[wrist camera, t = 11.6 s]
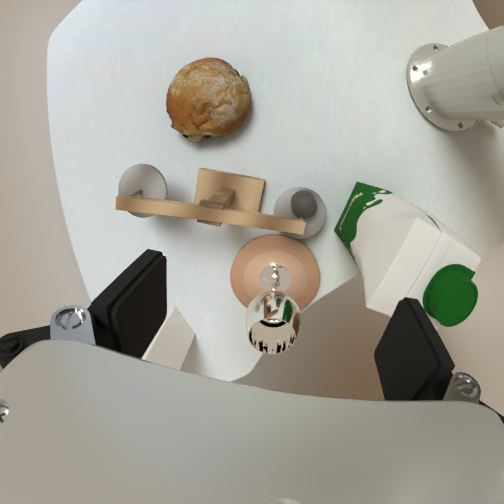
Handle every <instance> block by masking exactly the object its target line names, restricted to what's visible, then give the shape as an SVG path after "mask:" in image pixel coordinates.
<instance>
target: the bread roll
mask: <svg viewBox="0 0 504 504" xmlns="http://www.w3.org/2000/svg"><path fill="white" fill-rule="evenodd" d="M250 99H251V97H250V88H249V84H248V80H247V79H246V78H245V77H244V76H241V77H240V75H239V73H238V72H237V71H236V70H235V69H233V68H232V66H231V65H230V64H229V63H227V62H226V61H224V60H221V59H218V58H204V59H200V60H197V61H194V62H192V63H190V64H188V65H186V66H185V67H183V68H182V69H181V70H180V71H179V72H178V73H177V74H176V76H175V78H174V79H173V81H172V82H171V84H170V87H169V89H168V93H167V100H166V107H167V110H166V111H167V112H168V114H169V117H170V118H171V120H172V125H171V127H172V128H174V129H176V130H177V131H179V132H180V133H181V134H182V135H183V136H184V137H186V138H189V140H190V141H194V142H201V140H202V137H204V138H209V137H211V136H221V137H222V136H223V135H225V134H227V133H231V132H232V131H234V130H235V129H236V128H238V127H239V126H240V125H241V124H242V122H243V120H244V118H245V115H246V113H247V111H248V109H249V106H250Z"/></svg>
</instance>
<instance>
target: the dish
mask: <svg viewBox="0 0 504 504" xmlns="http://www.w3.org/2000/svg"><path fill="white" fill-rule="evenodd" d="M273 264H277V265H282V266H284V267H286V268H287V269H288V270H289V271H290V273H291V275H292V283H291V286H290V287H289V289H288V290H286V291H285V292H287V293H288V294H290V295H291V296H292V297H293V298H294V299H295V301H296V303H297V305H298V307H299V311H300V310H302V309H303V308H305V307H306V306H307V305H308V304H309V303H310V302H311V301H312V299H313V298H314V296H315V295H316V293H317V290H318V287H319V283H320V272H319V267H318V264H317V261H316V259H315V257H314V255H313V253H312V252H311V251H310V249H309V248H308V247H307V246H306V245H304V244H303V243H302V242H300V241H298V240H297V239H294V238H292V237H289V236H286V235H279V234H272V235H265V236H261V237H258V238H255V239H253V240H251V241H250V242H248V243H247V244H246V245H245V246H243V247H242V248H241V250H240V251H239V252H238V254H237V255H236V257H235V259H234V262H233V264H232V268H231V274H230V281H231V286H232V289H233V292H234V293H235V295H236V297H237V298H238V300H239V301H240V302H241V303H242V304H243V305H244V306H245V307H246V308H248V306H249V304H250V302H251V300H252V299H253V298H254V297H255V296H256V295H257V294H259V293H260V292H262V291H264V290H263V289H262V288H261V286H260V284H259V274H260V272H261V271H262V270H263V269H264V268H265V267H267V266H269V265H273Z"/></svg>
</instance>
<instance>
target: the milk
mask: <svg viewBox="0 0 504 504" xmlns="http://www.w3.org/2000/svg"><path fill="white" fill-rule="evenodd" d="M194 336H195V333H194V332H193V331H192V329H191V328H190V326H189V325H188V324H187V322H186V321H185V319H184V318H183V317H182V315H181V314H180V312H179V311H178V309H177V308H176V307H173V308H170V309H167V316H166V319H165V321H164V323H163V324H162V326H161V328H160V329H159V331H158V332H157V334H156V336H155V337H154V339H153V341H152V342H151V344H150V345H149V347H148V349H147V350H146V352H145V354H144V355H143V357H142V359H143V360H146V361H150V362H153V363H156V364H160V365H163V366H167V367H170V368H174V369H177V370H181V367H182V365H183V363H184V360H185V358H186V355H187V353H188V351H189V348H190V346H191V343H192V341H193V339H194Z"/></svg>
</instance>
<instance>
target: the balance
mask: <svg viewBox="0 0 504 504" xmlns="http://www.w3.org/2000/svg"><path fill="white" fill-rule="evenodd" d="M264 182H265V180H264V179H259V178H254V177H249V176H244V175H239V174H234V173H228V172H223V171H217V170H211V169H205V168H201V169H199V171H198V178H197V185H196V192H195V199H194V203H186V202H178V201H170V200H166V199H167V184H166V181H165V179H164V177H163V175H162V174H161V173H160V171H159V170H158V169H156V168H155V167H153V166H151V165H148V164H138V165H134V166H132V167H130V168H129V169H127V170H126V171H125V172H124V174H123V175H122V177H121V179H120V182H119V195H118V196H117V197H116V210H124V211H128V212H129V213H131V214H132V215H134V216H137V217H141V218H146V217H150V216H152V215H154V214H158V215H166V216H174V217H182V218H190V219H197V222H200V223H205V224H210V225H215V226H219V227H220V225H221V224H222V223H227V224H234V225H241V226H248V227H255V228H262V229H269V230H276V231H282V232H283V233H284V234H285V235H287V236H289V237H292V238H296V239H304V238H308V237H311V236H313V235H315V234H316V233H317V232H318V231H319V230H320V229H321V228H322V226H323V225H324V222H325V219H326V208H325V205H324V202H323V200H322V199H321V197H320V196H319V195H318V194H317V193H315V192H314V191H312V190H310V189H307V188H302V187H298V188H292V189H290V190H288V191H286V192H284V193H283V194H282V195H281V196H280V197H279V198H278V200H277V202H276V204H275V208H274V215H270V214H263V213H258V211H259V206H260V202H261V197H262V192H263V187H264Z"/></svg>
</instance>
